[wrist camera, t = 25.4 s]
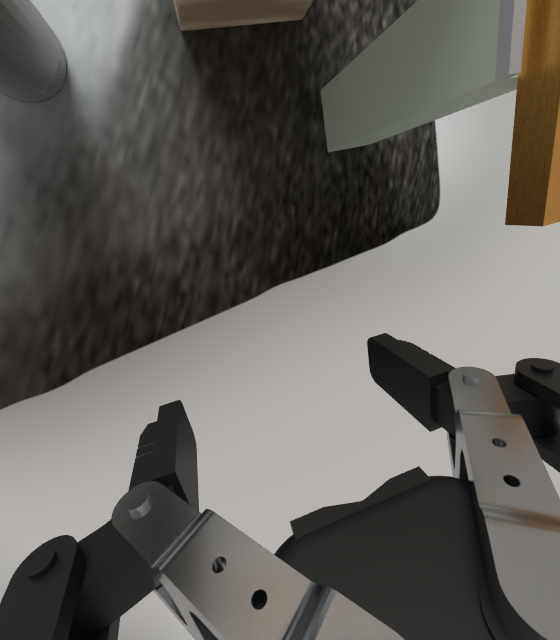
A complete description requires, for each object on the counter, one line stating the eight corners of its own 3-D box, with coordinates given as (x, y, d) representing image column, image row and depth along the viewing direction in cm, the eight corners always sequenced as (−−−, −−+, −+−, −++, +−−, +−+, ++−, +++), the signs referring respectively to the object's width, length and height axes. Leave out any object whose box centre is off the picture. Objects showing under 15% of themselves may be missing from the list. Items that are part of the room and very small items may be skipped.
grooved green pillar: (368, 144, 48) (587, 62, 22) (327, 152, 47) (508, 74, 20) (364, 84, 45) (612, -98, 19) (320, 90, 44) (521, -96, 17)
